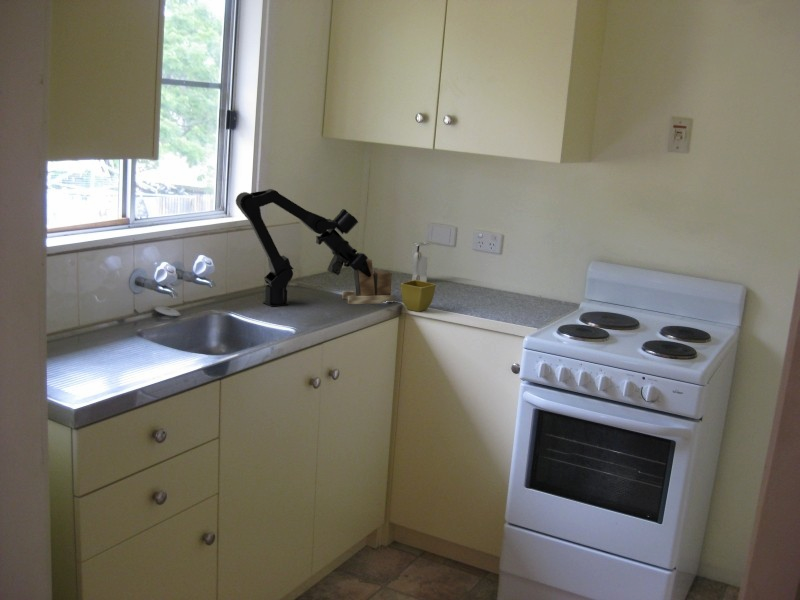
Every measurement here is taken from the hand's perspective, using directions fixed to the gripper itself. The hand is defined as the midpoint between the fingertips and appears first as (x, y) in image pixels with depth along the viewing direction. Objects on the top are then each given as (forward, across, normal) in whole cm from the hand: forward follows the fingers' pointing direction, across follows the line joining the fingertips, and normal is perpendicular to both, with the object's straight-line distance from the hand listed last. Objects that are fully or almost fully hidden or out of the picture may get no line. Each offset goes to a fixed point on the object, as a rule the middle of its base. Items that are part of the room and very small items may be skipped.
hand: (367, 275), depth 306 cm
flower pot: (+16, +15, +2) cm, 22 cm away
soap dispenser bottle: (+27, -28, +16) cm, 42 cm away
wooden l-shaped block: (+6, -1, -6) cm, 9 cm away
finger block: (+6, 0, -6) cm, 9 cm away
